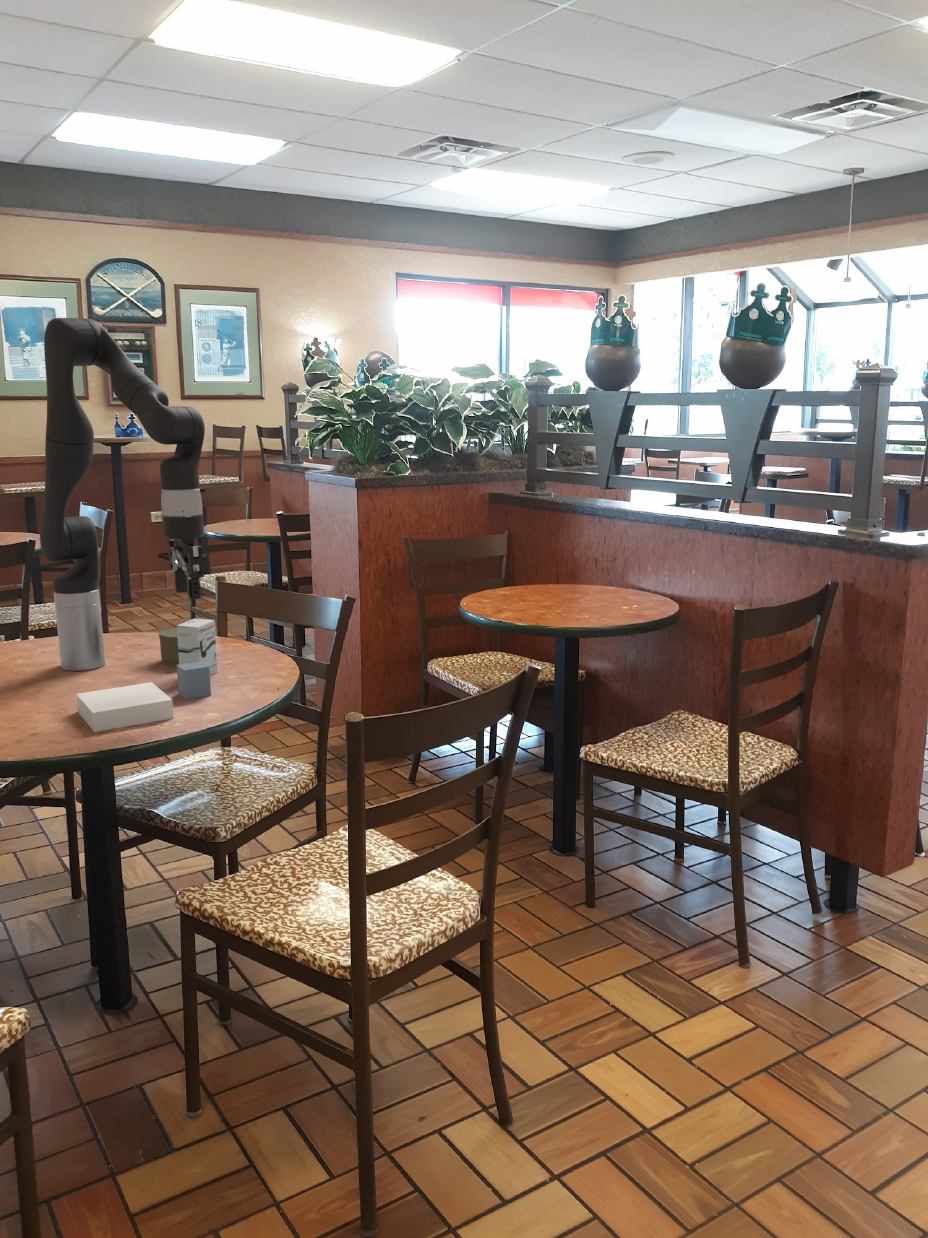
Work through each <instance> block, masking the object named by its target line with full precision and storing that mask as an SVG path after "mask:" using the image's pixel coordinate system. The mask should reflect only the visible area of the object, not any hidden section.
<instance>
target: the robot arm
mask: <svg viewBox="0 0 928 1238" xmlns="http://www.w3.org/2000/svg"><path fill="white" fill-rule="evenodd" d="M43 336H44V337H43V340H44V341H43V346H44V348H43V352H44V365H45V377H46V382H45V383H46V425H45V441H44V442H45V443H44V444H45V446H44V452H45V455H44V456H45V457H44V458H45V470H44V472H45V473H44V475H45V477H44V492H43V493H44V495H43V502H42V511H41V517H40V518H41V519H40V527H39V528H40V529H39V544H40V548H41V553H42V555H43V556H44V558H45V559H46V560H47V561H50V562H63V561H71V560H74V562H73V565H72V566H71V567H70V568H69V569H68V570H67V571H65V572H64V573H62V574H59V575H58V576H55V577H54V578H53V581H52V589H53V598H54V608H55V609H54V610H55V617H56V618H55V619H56V626H57V627H56V628H57V637H58V648H59V659H60V668H61V669H62V670H64V671H69V672H70V671H72V672H73V671H74V672H77V671H88V670H93V669H98V668H101V667H104V666H105V664H106V657H105V643H104V634H103V621H102V612H101V610H102V608H101V602H100V601H101V598H100V590H99V579H100V578H99V577H100V569H99V568H100V567H99V563H100V562H99V540H98V532H97V529H96V526H95V524H94V521H93V520H92V519H91V518H90V517H89V516H85V515H84V516H83V515H77V516H76V515H75V516H67V517H66V513H67V508H68V505H69V502H70V499H71V497H72V496H73V493H74V492H75V490H76V489H77V488H78V487H79V485H80V483H81V482H82V481H83V479H84V477H86V475H87V474H88V472H89V470H90V469H91V466H92V464H93V459H94V440H95V439H94V438H95V435H94V433H95V432H94V427H93V425H92V423H91V421H90V419H89V417H88V415H87V414H86V412H85V410H84V408H83V407H82V405H81V404H80V402H79V399H78V397H77V395H76V392H75V385H74V368H75V367H90V366H94V367H95V366H96V367H97V368H100V369H101V370H103V371H105V372H106V373H107V374H108V375H109V376H110V385H111V388H112V391H113V393H114V396H115V397H116V398H117V400H119V401H120V402H121V404H123V405H124V406H125V407H126V408H127V409H128V410H129V411H131V412H132V413H133V414H134V415H135V416H137V418H138V420H139V421H140V424H141V425H142V427H143V428H144V430H145V432H146V434H147V435H148V436H149V438H151V440H153V441H155V442H156V443H159V444H161V445H166V446H167V445H176V447H175V450H174V453H173V455H172V456H169V457H167V458H164V459H162V460H161V462H160V465H159V471H160V472H159V473H160V486H161V498H160V499H161V500H160V505H161V517H162V519H161V520H162V531H163V537H164V538H165V539H168V541H167V543H168V544H167V545H168V560H169V569H170V570H172V573H173V574H174V588H175V589H174V591H175V592H176V593H178V594H179V593H186V592H187V593H188V595H187V596H188V597H187V598H189V600H200V599H201V598H202V592H201V579H202V578H204V577H205V573H204V572H205V571H204V559H203V547H202V545H196V544H197V543H196V538H202V537H204V535H205V531H204V530H205V528H204V515H203V499H202V494H201V489H200V476H199V474H200V473H199V465H200V460H201V455H202V450H203V445H204V441H205V432H206V430H205V429H206V427H205V422H204V419H203V416H202V415H201V413H200V411H199V410H198V409H196V408H195V407H193V406H187V405H186V406H184V405H183V406H180V405H179V406H177V405H175V406H169V405H170V404H169V397H168V395H167V394H166V392H165V390H163V388H161V387H160V386H159V385H158V384H157V383H155V382H154V381H153V380H151V379H150V378H149V377H148V376H147V375H146V374H145V373H143V372H142V370H140V369H139V368H138V367H137V366H136V365H135V364H134V363H133V362H132V361H131V359H130V358H129V357H128V355H127V354H126V353H125V352H124V350H123V349H122V347H121V346H120V345H119V344H118V343H117V342H116V340H115V339H114V338H113V337H112V336H111V334H110V333H109V332H108V331H107V329H106V328H105V327H104V326H103V325H101V324H100V323H99V322H98V321H96V320H94V319H91V318H83V317H82V318H80V317H79V318H77V317H55V318H52V319H50V321H48V323H47V325H46V327H45V331H44V335H43Z"/></svg>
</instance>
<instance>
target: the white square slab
mask: <svg viewBox="0 0 928 1238" xmlns="http://www.w3.org/2000/svg"><path fill="white" fill-rule="evenodd" d="M76 704H77V705H76V706H77V713H78V712H79V713H78V714H79V715H80V717H82V719H83V720H84V721H85V722H86V724H87V725H88V726H89V727H90V728H91V730H92V731H93V732H94V733H96V732H97V733H98V732H102V731H109V730H113V728H115V729H119V728H125V727H130V726H131V727H132V726H137V725H143V724H148V723H153V722H159V721H165V720H171V719H172V720H173V719H174V717H175V716H174V706H173V705H174V704H173V699H172V698H171V697H169V695H167V694H166V693H165V692H163V691H162V689H160V688H159V687H158V686H156V685H155V684H154V683H153V682H151V681H150V682H144V683H139V684H138V683H137V684H132V685H125V686H119V687H113V688H112V687H111V688H106V689H98V690H92V691H87V692H85V691H84V692H79V693H76Z"/></svg>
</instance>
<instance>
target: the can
mask: <svg viewBox="0 0 928 1238" xmlns="http://www.w3.org/2000/svg"><path fill="white" fill-rule="evenodd" d="M158 638H159V647H160V655H161V657H160V658H161V664H163V665H164V666H168V667H176V668H177V665H179V655H178V638H177V626H173V627H168V628H165V629H162V630H159V632H158Z"/></svg>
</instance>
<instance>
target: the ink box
mask: <svg viewBox="0 0 928 1238" xmlns="http://www.w3.org/2000/svg"><path fill="white" fill-rule="evenodd" d="M176 627H177V638H178V655H179V664H186V663H193V662H200V661H202V662H203V663H205V664H206V665H208V666H209V670H210V677H211V676H213V675H214V674H216V673H218V657H217V656H218V655H217V654H218V653H217V641H216V640H217V637H216V636H217V635H216V621H215V619H208V618H207V619H206V618H192V619H189V620H188V621H185V622H183V623H180V624H177V626H176Z"/></svg>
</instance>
